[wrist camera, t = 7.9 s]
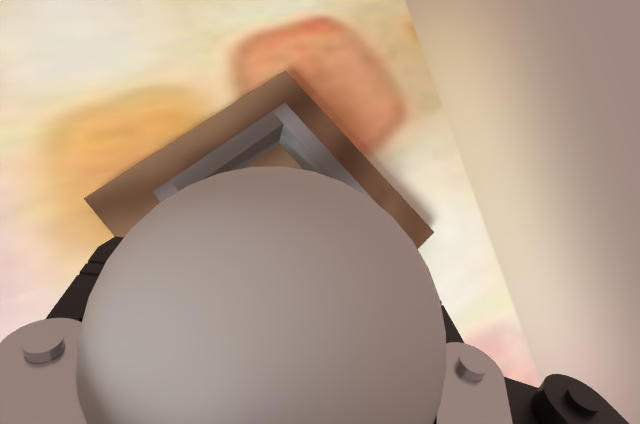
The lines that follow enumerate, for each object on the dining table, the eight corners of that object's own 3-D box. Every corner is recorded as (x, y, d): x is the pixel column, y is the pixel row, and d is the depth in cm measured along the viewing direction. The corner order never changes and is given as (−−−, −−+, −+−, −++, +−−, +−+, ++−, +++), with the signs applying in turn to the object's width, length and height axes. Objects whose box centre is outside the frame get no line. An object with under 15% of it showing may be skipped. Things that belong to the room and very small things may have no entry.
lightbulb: (332, 253, 16) (503, 117, 6) (334, 415, 14) (590, 652, 4) (178, 248, 15) (37, 64, 4) (160, 424, 13) (-144, 799, 3)
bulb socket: (91, 205, 27) (64, 182, 23) (283, 81, 33) (289, 45, 29) (256, 405, 25) (259, 420, 21) (425, 236, 31) (454, 222, 27)
